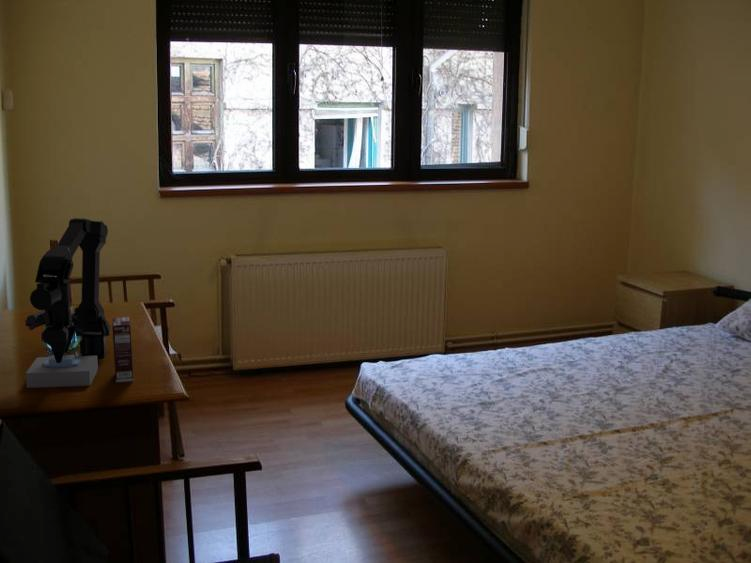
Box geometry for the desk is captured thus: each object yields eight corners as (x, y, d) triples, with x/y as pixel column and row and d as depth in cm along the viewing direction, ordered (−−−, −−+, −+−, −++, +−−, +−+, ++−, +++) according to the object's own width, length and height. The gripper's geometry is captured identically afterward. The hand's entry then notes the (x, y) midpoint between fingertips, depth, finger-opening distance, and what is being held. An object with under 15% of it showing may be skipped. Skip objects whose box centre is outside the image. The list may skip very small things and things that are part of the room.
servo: (81, 375, 245) (80, 354, 243) (79, 380, 241) (77, 359, 239) (46, 376, 243) (45, 355, 242) (43, 381, 239) (42, 360, 238)
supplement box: (114, 373, 247) (111, 317, 244) (132, 371, 248) (130, 316, 245) (115, 383, 239) (112, 325, 235) (133, 381, 240) (131, 324, 237)
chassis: (97, 369, 250) (97, 355, 249) (90, 385, 237) (89, 371, 236) (38, 371, 248) (37, 357, 247) (26, 387, 234) (25, 373, 233)
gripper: (34, 294, 245) (37, 348, 249) (18, 310, 227) (22, 369, 231) (76, 293, 247) (79, 347, 250) (64, 309, 229) (67, 367, 232)
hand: (62, 357), depth 241 cm, fingers open, 9 cm apart
